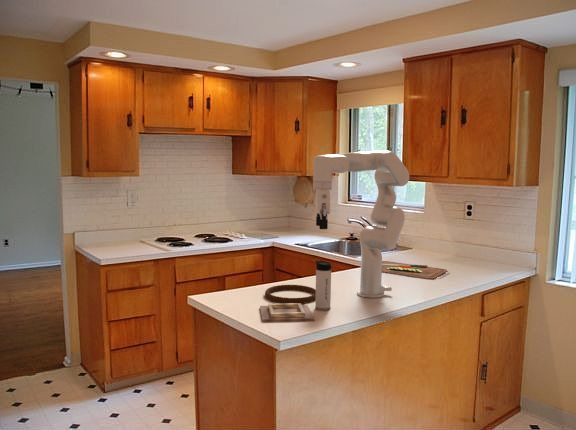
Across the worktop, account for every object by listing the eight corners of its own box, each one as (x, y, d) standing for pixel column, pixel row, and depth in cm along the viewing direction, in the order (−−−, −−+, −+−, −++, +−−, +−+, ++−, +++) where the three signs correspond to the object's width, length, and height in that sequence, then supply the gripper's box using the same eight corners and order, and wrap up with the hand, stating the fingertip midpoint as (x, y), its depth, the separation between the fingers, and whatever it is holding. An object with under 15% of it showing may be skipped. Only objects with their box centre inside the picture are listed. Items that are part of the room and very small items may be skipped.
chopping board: (358, 269, 294) (358, 264, 293) (379, 262, 316) (379, 257, 315) (436, 281, 268) (436, 276, 268) (453, 272, 290) (453, 267, 290)
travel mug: (316, 305, 221) (317, 259, 219) (331, 307, 219) (332, 260, 217) (312, 309, 215) (313, 262, 213) (328, 311, 213) (329, 263, 211)
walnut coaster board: (307, 307, 218) (307, 301, 218) (314, 320, 201) (314, 314, 200) (259, 308, 216) (260, 302, 216) (262, 322, 198) (262, 315, 198)
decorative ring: (339, 294, 230) (277, 300, 219) (339, 300, 231) (277, 307, 219) (315, 281, 253) (257, 286, 241) (315, 287, 253) (257, 293, 241)
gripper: (335, 187, 204) (334, 230, 206) (328, 184, 221) (327, 224, 223) (316, 187, 203) (315, 230, 205) (310, 184, 220) (310, 224, 222)
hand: (321, 227), depth 214 cm, fingers open, 9 cm apart
